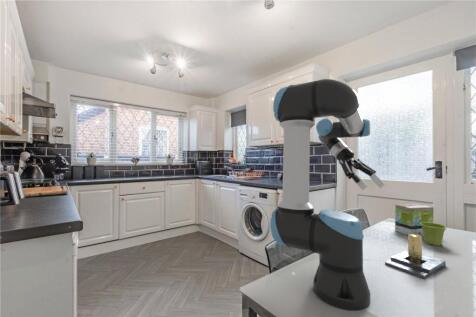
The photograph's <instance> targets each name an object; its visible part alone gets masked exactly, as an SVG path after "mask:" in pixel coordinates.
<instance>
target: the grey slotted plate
mask: <svg viewBox="0 0 476 317" xmlns="http://www.w3.org/2000/svg"><path fill="white" fill-rule="evenodd" d="M407 259H408V249H407V250H403V251H401V252H399V253H396V254H395V255H392V256H390V260H394V261H396V262H399V263H402V264H405V265H408V266H411V267H414V268H417V269H419V270H422V271H425V272H428V273H430V272H432V271H434V270H435V269H437V268H439V267H441V269H440V270H442V269H443V268H445V267H446V265H447V264H446V263H447V262H446V261H447V260H445V259H441V258H438V257H435V256H431V255H428V254H424V253H422V262H423V264H421V265H420V264H417V263H414V262H411V261H408V260H407Z"/></svg>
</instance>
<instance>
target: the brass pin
mask: <svg viewBox="0 0 476 317" xmlns="http://www.w3.org/2000/svg"><path fill="white" fill-rule="evenodd" d="M407 236H408V238H407V239H408V240H407V243H408V246H407V247H408V248H407V250H408V261H411V262H414V263H417V264H420V265H421V264H422V254H423V237H422V236H423V235H415V234H408V235H407Z"/></svg>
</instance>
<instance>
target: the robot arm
mask: <svg viewBox="0 0 476 317" xmlns="http://www.w3.org/2000/svg"><path fill="white" fill-rule="evenodd" d="M359 107H360V98H359V95H358V93H357V92H356V91H355V90H354V89H353V88H352V87H351V86H350V85H348V84H346V83H344V82H342V81H340V80H337V79H330V78H328V79H327V78H323V79H318V80H314V81H309V82H304V83H303V82H302V83H297V84H290V85H288V86H285V87H281V88H280V89H279V90H278V91H277V92H276V93H275V96H274V99H273V105H272V109H273V116H274V118H275V120H276V121H278V122H279V126H280V128H282V129H283V154H282V156H283V157H282V160H283V161H282V194H281V195H282V197H281V198H282V199H281V201H280V202H279V203H278V204H277V208H276V209H274V210H273V211H272V213H271V217H270V222H269V223H270V224H269V225H270V226H269V228H270V233H271V235H272V239H273V240H274V241H275V243H276V244H278V245H281V246H284V247H286V248H292V249H297V250H301V251H306V252H310V253H314V254H318V255H319V256H318V257H319V262H318V266H317V268H316V273H315V275H314V278H313V284H312V287H313V292H314V294H315V295H316V296H317V297H318V299H320V300H321V301H323V302H324V303H326V304H328V305H330V306H333V307H336V308H338V309H339V308H340V309H343V310H349V311H350V310H351V311H357V310H358V311H359V310H362V309H365V308H367V307H368V306H370V304H371V291H370V288H369V286H368V285H369V284H368V283H367V279H366V276H365V273H364V251H363V250H364V249H363V248H364V246H363V244H364V243H363V241H364V233H363V223H362V221H361V220H360V219H359V218H358V217H357V216H355V215H352V214H350V213H346V212H345V211H344V212H343V211H339V210H332V209H321V210H320V211H319V213H314V212H315V208H314V206H313V204H312V203H311V202H310V162H311V161H310V159H311V154H310V152H311V151H310V150H311V129H312V128H313V127H314V126H315V127H316V132H317V135H318V140H319V141H320V143H321V144H323V145H324V146H325V148H327V150H328V151H329V152H330V153H331V155H332V156H333V157H334V158H335V159H336V160H337V161H338V163H339V164H340V166H341V168H342V171H343V173H344V175H345V177H347V179H349V180H351V179H352V180H353V182H355V184H356V185H357V187H359V188H360V189H361V191H363V190H365V189H366V188H367V187H369V185H368V184H367V183H366V182H365V180H364V179H362V178H361V176H359V175H358V174H357V173H356V170H359V171H360V172H362V173H364V174H366V175H367V176H369V179H371V181H372V182H373V183H374V184H375V185H376V186H377V187H379V189H382V188H383V187H384V186H385V185H386V183H385V182H384V181H383V180H382V179H381V178H380V177H379V176H378V175H377V174H376V173H377V170H375V169H373V168H372V167H371V166H369V165H368V164H366V163H365V162H363V161H362V160H361V159H360V158H355V157H354V156H355V153H354V152H353V151H352V149H350V148H349V146H348V145H346V144H345V143H344V142H343V141H342V138H343V139H344V138H363V137H369V136H370V135H371V121H370V119H364V118H363V117H362V115H361V111H360V109H359ZM325 117H334V119H335V118H336V119H338V121H334V122H333V121H332V120H331V119H328V118H325ZM317 118H323V119H321V120H319V121H318V122H317V123H316V119H317Z"/></svg>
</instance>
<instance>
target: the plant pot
mask: <svg viewBox="0 0 476 317" xmlns="http://www.w3.org/2000/svg"><path fill="white" fill-rule="evenodd" d="M420 224H421V226H422V228H423V234H424V235H423V239H424V242H425V243H426V244H428V245H433V246H441V245H442V244H443V240H444V233H445V232H446V229H447V226H446V225H443V224H441V223H438V222H437V223H436V222H433V223H429V222H422V223H420Z"/></svg>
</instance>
